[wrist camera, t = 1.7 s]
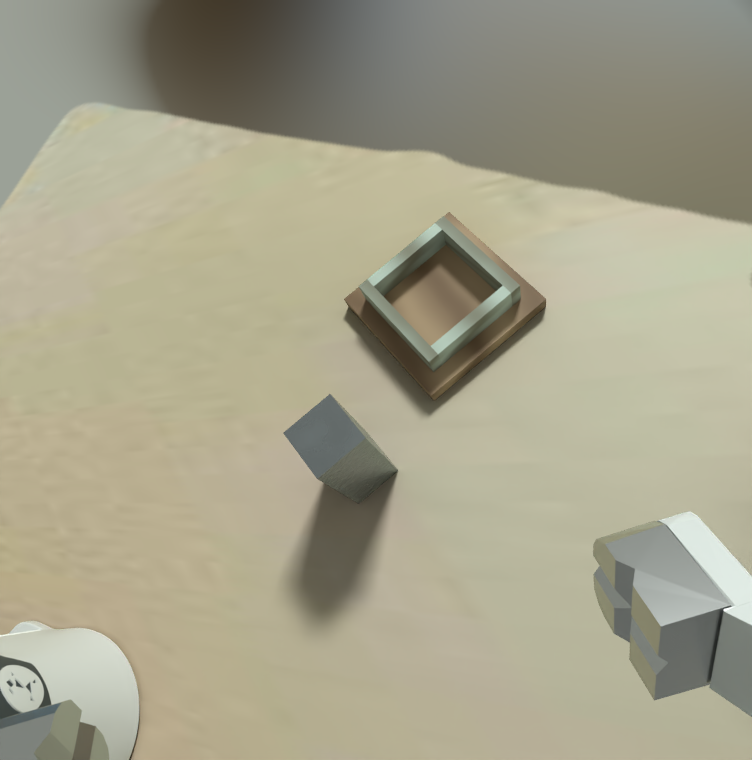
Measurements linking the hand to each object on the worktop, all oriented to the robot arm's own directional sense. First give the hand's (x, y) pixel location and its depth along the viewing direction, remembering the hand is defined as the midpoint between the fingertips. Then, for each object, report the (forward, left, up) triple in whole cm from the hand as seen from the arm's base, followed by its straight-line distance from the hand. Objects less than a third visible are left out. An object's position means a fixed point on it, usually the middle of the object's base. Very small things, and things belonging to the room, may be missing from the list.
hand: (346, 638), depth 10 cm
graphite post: (-1, +16, -42) cm, 45 cm away
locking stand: (+14, +23, -42) cm, 50 cm away
